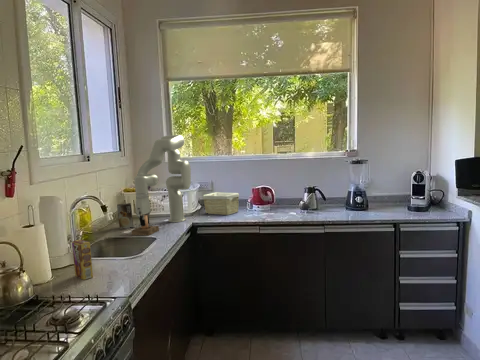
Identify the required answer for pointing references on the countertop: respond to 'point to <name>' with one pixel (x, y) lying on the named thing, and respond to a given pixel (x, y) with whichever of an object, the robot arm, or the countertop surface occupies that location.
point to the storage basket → (221, 203)
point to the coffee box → (125, 215)
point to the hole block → (145, 230)
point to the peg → (145, 222)
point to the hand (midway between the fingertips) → (144, 224)
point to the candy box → (82, 259)
